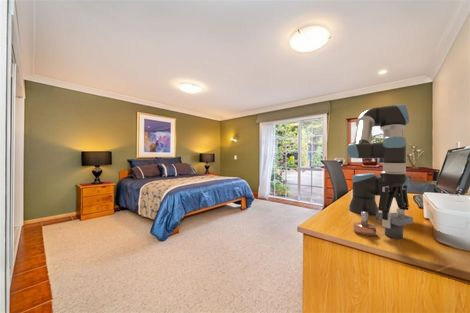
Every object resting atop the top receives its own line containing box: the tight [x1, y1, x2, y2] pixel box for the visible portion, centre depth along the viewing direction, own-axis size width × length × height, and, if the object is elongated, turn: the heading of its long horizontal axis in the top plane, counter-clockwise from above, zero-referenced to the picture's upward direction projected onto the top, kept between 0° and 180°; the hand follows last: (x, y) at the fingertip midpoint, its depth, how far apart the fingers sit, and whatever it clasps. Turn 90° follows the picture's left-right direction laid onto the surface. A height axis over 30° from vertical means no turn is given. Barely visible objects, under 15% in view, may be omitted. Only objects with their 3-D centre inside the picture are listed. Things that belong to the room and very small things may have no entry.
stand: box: [384, 211, 404, 240], centre depth 82 cm, size 6×6×10 cm
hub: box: [352, 211, 377, 237], centre depth 85 cm, size 8×8×9 cm
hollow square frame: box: [375, 210, 414, 226], centre depth 82 cm, size 9×9×2 cm
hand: (393, 225), depth 82 cm, fingers closed on hollow square frame, 9 cm apart
